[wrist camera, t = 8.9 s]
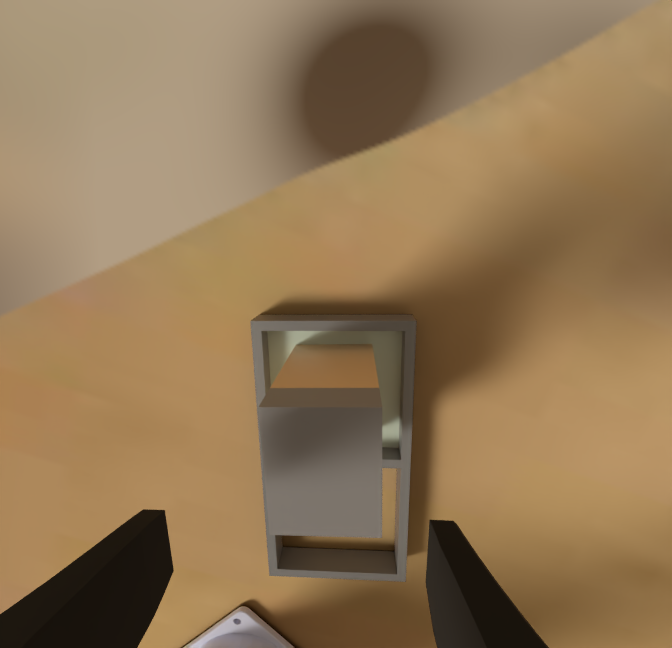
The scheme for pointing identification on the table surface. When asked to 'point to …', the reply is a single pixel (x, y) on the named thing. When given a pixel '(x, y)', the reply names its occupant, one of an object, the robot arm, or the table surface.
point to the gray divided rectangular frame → (397, 412)
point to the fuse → (324, 443)
